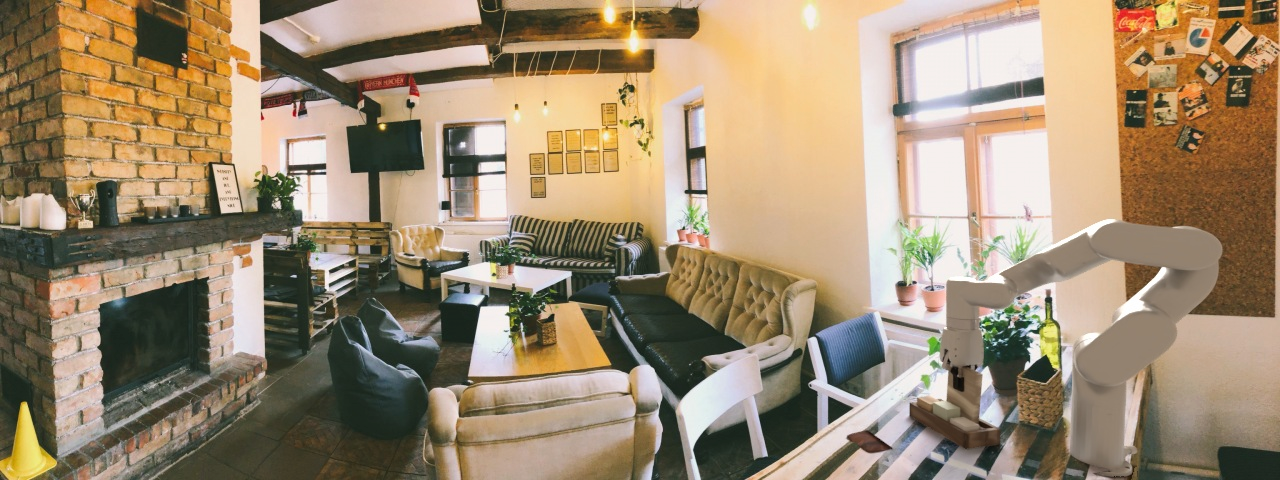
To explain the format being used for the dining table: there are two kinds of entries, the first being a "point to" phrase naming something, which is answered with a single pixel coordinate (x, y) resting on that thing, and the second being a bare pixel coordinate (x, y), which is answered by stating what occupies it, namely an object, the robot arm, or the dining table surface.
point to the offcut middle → (946, 410)
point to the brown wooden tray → (957, 429)
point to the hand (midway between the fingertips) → (962, 389)
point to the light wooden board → (966, 394)
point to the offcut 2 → (964, 424)
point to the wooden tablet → (868, 441)
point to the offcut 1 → (926, 402)
